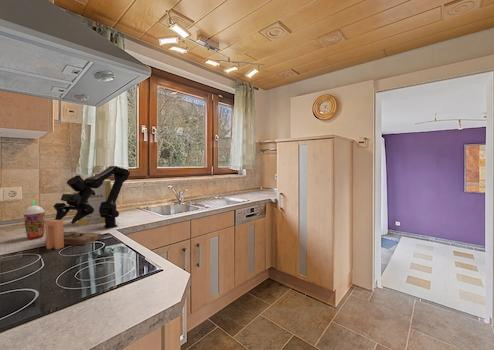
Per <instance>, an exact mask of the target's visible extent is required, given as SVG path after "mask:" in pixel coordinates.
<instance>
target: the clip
mask: <svg viewBox="0 0 494 350" xmlns="http://www.w3.org/2000/svg"><path fill="white" fill-rule="evenodd" d="M63 220H64V219H61V220H55V219H49V220H46V221H45V225H44V230H45V243H46V244H45V245H46V250H50V249H53V248H54V250H59V249H62V248H65V244H64V236H63V232H64V224H63V222H64V221H63Z"/></svg>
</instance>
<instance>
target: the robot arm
mask: <svg viewBox="0 0 494 350" xmlns="http://www.w3.org/2000/svg"><path fill="white" fill-rule="evenodd" d="M112 176H113V178H114V182H113V184H112V187H111V191H110V193H109V196H108V198H107V200H106V201H105V202H102V203H101V205H100V207H99V208H100V209H99V213H100V215H101V217H105V223H104V225H103V227H104V229H111V228H116V227H118V224H117V223H116V222H117V221H116V218H118V217H119V215H120V212H119V210H117V204H116V203H117V200H118V198H119V194H120V192H121V189H122V187H123V184H124V182H126V181H127V180H128V179H129V176H130V171H129V170H128V169H127V168H123V167H120V166H118V165H110V166H108V167H107V168H105V169H104V170H102V171H101V172H100V173H97V174H96V175H93V176H89V177H86V178H85V179H83V177H81V175H80V174H79V175H78V174H76V175H75V176H73V177H71V178H69V179H68V180H67V181H66V185H68V187H70V188H71V189H72V190H73V191H74V192H73V193H62V195H61V198H60V201H62V202H56V203H54V205H52V207H53V208H54V210H56V213H55V219H54V220H63V218H65V217H66V216H67V215H68V213H69V212H70V211H76V213H75V215H74V217H73V218H72V219H71V222H70V223H71V224H75V223H77V222H78V220H80V219H81V218H83V217H85V216H87V215H89V214H92V213H93V212H94V208H93V207H92V206H91V205H90V204H85V203H88V201H87V200H88V199H89V197H90V196H91V195H95V191H94V190H92V189H91V188H99V187H100V186H101V185H102V184H103V181H104V180H108V178H110V177H112ZM78 191H79V192H78ZM77 192H78V193H77ZM63 201H64V202H66V203H64V202H63Z"/></svg>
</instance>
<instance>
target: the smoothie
mask: <svg viewBox="0 0 494 350" xmlns="http://www.w3.org/2000/svg"><path fill="white" fill-rule="evenodd" d="M35 203H36V202H35V199H33V200H32V205H30V206H28V207H27V208H26V209H25V210H24V212H23V222H24V226H25V234H26V237H27V238H28V240H36V239H41V238H43V237H44V235H45V218H46V217H45V215H46V211H45V210H44V208H43V207H41V206H39V205H35Z"/></svg>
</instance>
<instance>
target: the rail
mask: <svg viewBox="0 0 494 350" xmlns="http://www.w3.org/2000/svg"><path fill="white" fill-rule="evenodd" d="M63 236H64V245H77V246H78V245H79V246H86V245H88V244H91V243H93V242H96V241H98V240H100V239H102V233H99V232H97V233H96V232H77V231H76V232H75V231H74V232H72V231H63Z"/></svg>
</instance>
